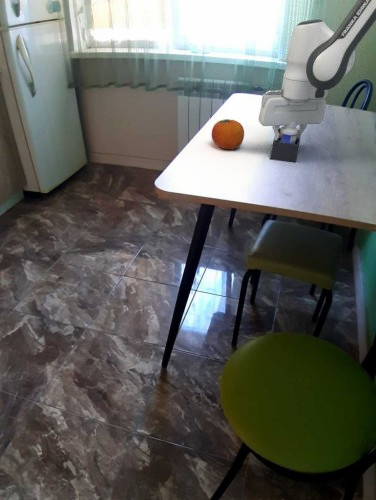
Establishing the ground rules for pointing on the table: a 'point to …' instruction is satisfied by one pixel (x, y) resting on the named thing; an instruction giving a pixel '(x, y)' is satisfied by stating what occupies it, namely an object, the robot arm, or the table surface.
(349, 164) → the table surface
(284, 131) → the pill bottle
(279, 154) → the open box
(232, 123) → the fruit
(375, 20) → the robot arm
